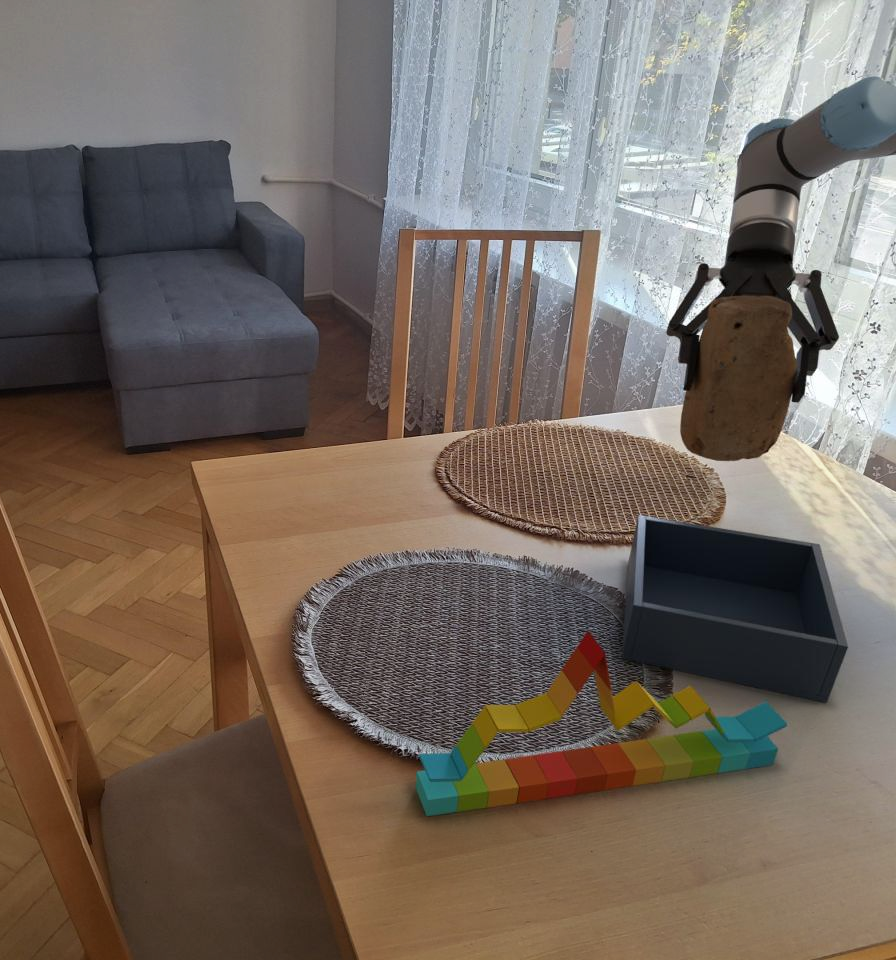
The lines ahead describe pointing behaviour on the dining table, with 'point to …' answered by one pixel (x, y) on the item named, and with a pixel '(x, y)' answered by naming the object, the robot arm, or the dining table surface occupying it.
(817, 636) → the grey storage tray
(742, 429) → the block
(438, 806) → the chart
